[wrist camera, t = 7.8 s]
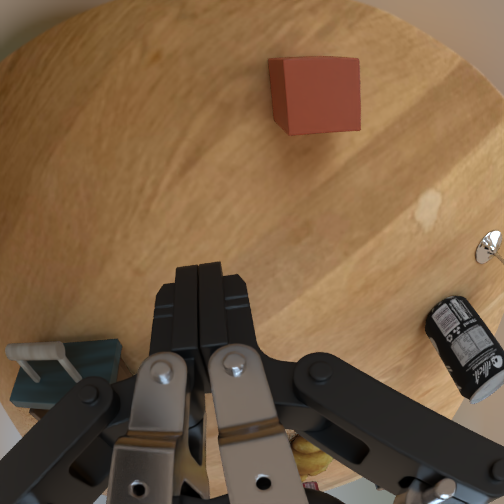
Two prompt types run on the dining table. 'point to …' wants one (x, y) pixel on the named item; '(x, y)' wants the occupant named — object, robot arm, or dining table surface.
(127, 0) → the dining table surface
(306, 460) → the bread roll
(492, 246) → the wineglass
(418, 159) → the dining table surface
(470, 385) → the beverage can
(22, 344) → the drawer
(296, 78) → the block
